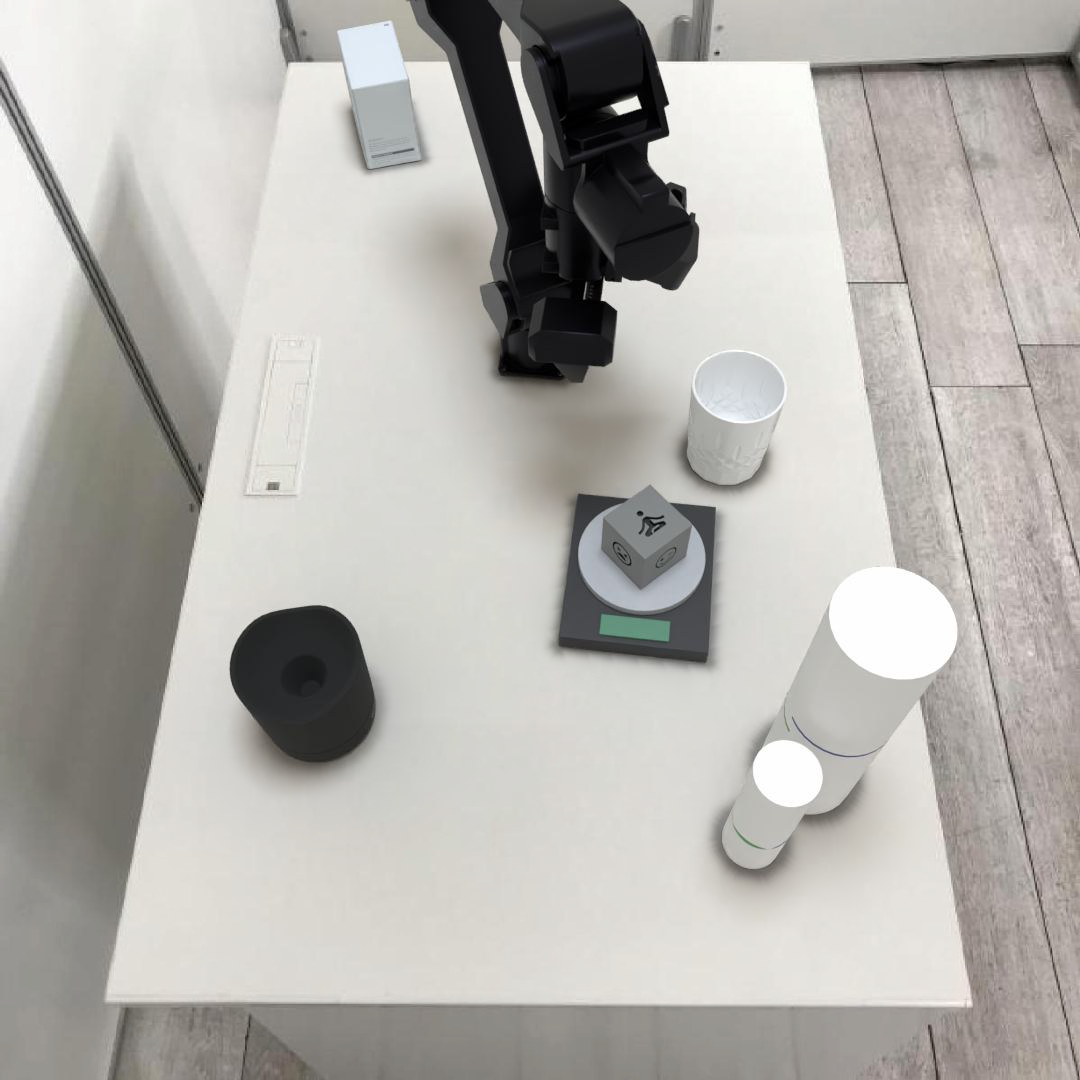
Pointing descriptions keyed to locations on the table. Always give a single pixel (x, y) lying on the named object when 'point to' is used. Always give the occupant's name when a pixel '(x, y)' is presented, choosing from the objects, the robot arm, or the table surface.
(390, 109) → the cosmetics box
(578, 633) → the scale
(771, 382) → the white cup
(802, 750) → the tube
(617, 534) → the dice cube
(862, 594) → the cylindrical container
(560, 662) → the table surface
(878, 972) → the table surface
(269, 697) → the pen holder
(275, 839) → the table surface
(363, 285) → the table surface
